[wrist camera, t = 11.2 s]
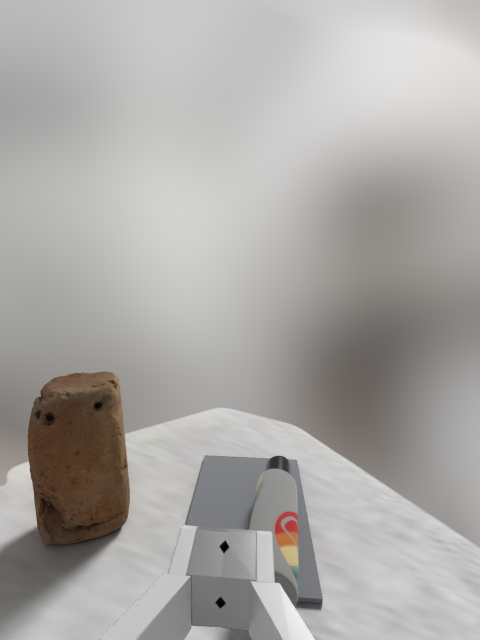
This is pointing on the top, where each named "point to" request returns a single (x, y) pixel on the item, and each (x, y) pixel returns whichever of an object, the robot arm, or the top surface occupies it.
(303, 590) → the mat
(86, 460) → the block
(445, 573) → the top surface
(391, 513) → the top surface
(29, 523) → the top surface
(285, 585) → the lotion bottle
